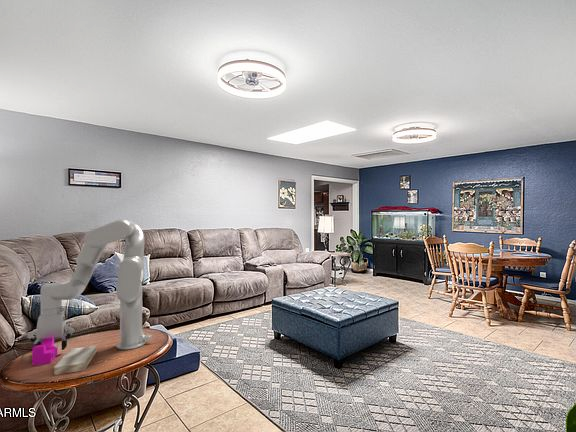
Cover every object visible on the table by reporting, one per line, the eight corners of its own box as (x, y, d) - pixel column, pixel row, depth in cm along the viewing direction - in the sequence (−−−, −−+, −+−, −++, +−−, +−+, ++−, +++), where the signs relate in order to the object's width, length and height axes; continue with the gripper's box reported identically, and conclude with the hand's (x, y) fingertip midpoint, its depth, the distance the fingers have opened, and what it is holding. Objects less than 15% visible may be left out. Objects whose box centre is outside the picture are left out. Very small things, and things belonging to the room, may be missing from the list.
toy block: (50, 363, 131) (50, 345, 132) (32, 366, 129) (32, 348, 129) (60, 350, 145) (60, 334, 145) (43, 353, 143) (43, 336, 143)
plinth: (96, 352, 142) (96, 345, 142) (84, 370, 124) (84, 362, 124) (70, 355, 138) (70, 348, 138) (54, 375, 120) (54, 367, 120)
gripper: (76, 307, 146) (76, 344, 145) (31, 311, 140) (31, 350, 140) (71, 311, 139) (71, 350, 138) (23, 316, 133) (23, 357, 133)
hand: (51, 350), depth 139 cm, fingers open, 9 cm apart
